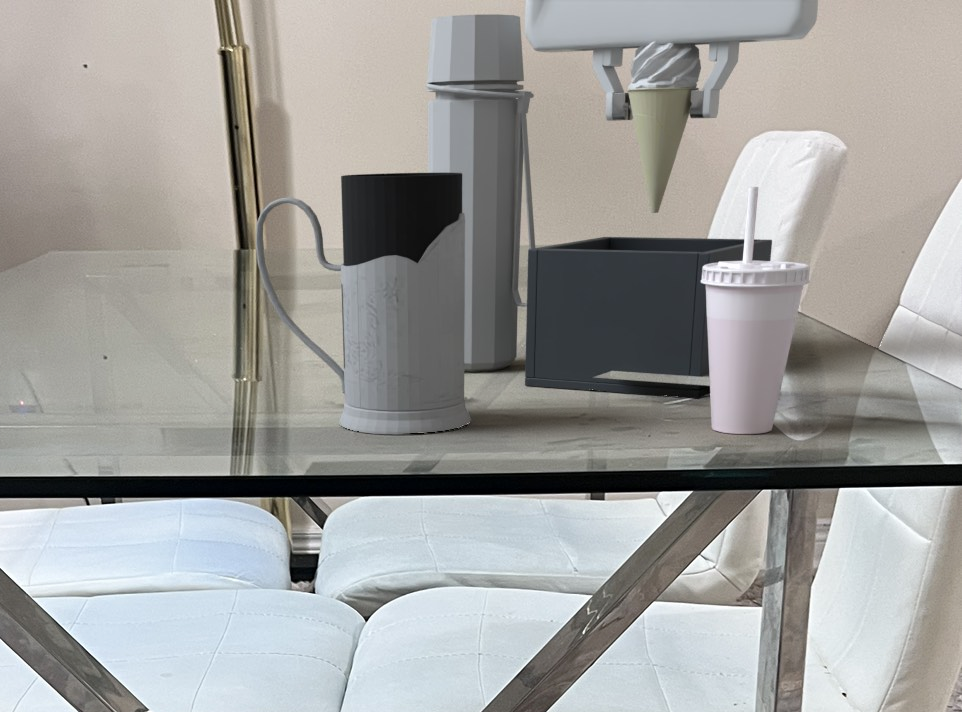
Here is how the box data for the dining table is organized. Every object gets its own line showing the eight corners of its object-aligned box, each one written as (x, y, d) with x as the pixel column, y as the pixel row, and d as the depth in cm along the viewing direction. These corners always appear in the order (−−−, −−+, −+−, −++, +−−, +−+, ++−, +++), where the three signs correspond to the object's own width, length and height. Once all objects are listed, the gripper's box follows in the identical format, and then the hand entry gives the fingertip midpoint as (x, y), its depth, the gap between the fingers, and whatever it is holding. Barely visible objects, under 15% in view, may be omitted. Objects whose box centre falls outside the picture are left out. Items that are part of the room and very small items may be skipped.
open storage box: (760, 371, 109) (772, 239, 105) (698, 398, 98) (709, 253, 94) (598, 361, 115) (604, 236, 111) (524, 385, 105) (527, 248, 101)
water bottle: (408, 369, 113) (404, 18, 103) (459, 357, 119) (461, 23, 108) (507, 378, 108) (514, 10, 98) (555, 364, 114) (567, 16, 104)
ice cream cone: (684, 214, 99) (701, -30, 92) (613, 214, 100) (625, -26, 94) (695, 210, 103) (712, -24, 97) (627, 210, 105) (639, -20, 98)
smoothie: (714, 415, 92) (732, 185, 86) (809, 424, 89) (835, 185, 83) (673, 432, 87) (689, 189, 82) (772, 442, 84) (796, 189, 78)
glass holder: (452, 436, 87) (453, 175, 81) (241, 428, 91) (226, 178, 85) (484, 412, 95) (487, 171, 89) (288, 405, 99) (277, 174, 93)
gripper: (843, -121, 91) (819, 115, 97) (556, -90, 101) (550, 122, 107) (815, -134, 86) (792, 115, 92) (517, -100, 96) (512, 123, 102)
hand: (660, 119), depth 99 cm, fingers closed on ice cream cone, 5 cm apart
